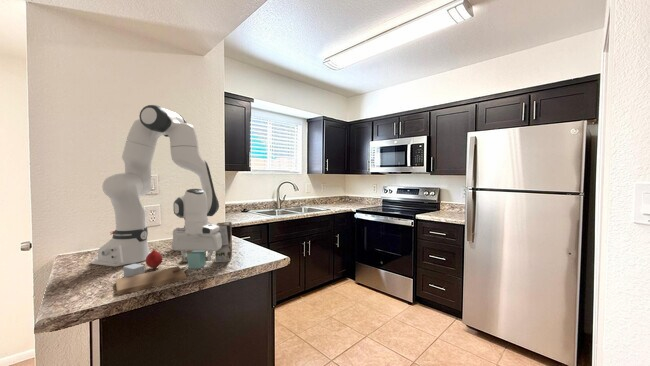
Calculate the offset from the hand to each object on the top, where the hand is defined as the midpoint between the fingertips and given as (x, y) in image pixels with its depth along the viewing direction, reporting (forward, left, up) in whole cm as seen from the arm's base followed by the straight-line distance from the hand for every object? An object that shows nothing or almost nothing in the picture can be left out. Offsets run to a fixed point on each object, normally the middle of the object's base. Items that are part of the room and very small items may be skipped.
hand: (197, 260), depth 112 cm
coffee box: (+7, +10, -3) cm, 12 cm away
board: (-8, -16, -2) cm, 18 cm away
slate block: (-18, -12, -2) cm, 22 cm away
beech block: (-8, +8, -2) cm, 12 cm away
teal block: (0, 0, -2) cm, 2 cm away
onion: (-16, -4, -3) cm, 17 cm away
